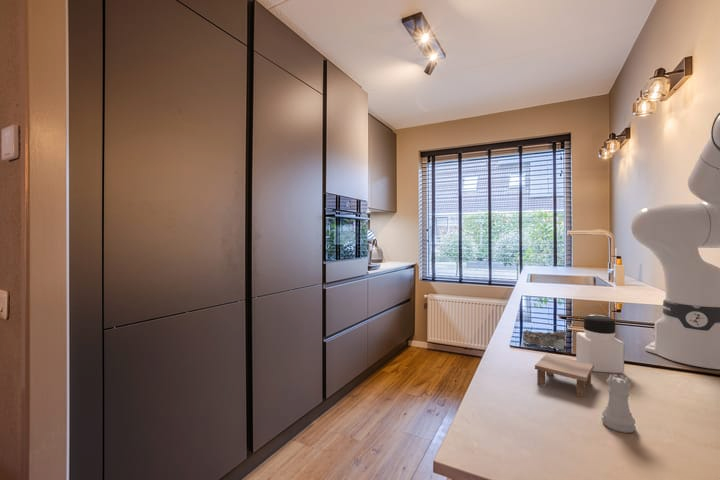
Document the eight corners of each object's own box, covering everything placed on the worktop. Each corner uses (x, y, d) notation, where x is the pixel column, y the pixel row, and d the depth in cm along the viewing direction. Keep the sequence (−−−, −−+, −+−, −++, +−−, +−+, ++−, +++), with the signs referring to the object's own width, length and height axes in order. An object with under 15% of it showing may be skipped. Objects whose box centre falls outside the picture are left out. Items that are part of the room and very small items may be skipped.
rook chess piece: (643, 431, 53) (643, 381, 53) (622, 436, 52) (622, 385, 51) (614, 416, 57) (614, 370, 57) (594, 421, 56) (595, 373, 56)
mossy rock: (568, 346, 95) (568, 331, 95) (562, 353, 89) (562, 338, 89) (528, 338, 102) (528, 324, 102) (519, 344, 96) (520, 330, 96)
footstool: (546, 371, 76) (546, 354, 76) (593, 383, 70) (593, 364, 70) (534, 384, 70) (534, 365, 70) (586, 398, 64) (586, 377, 64)
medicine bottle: (624, 374, 75) (625, 321, 75) (589, 371, 76) (589, 319, 76) (607, 362, 82) (608, 313, 82) (575, 360, 83) (576, 312, 83)
